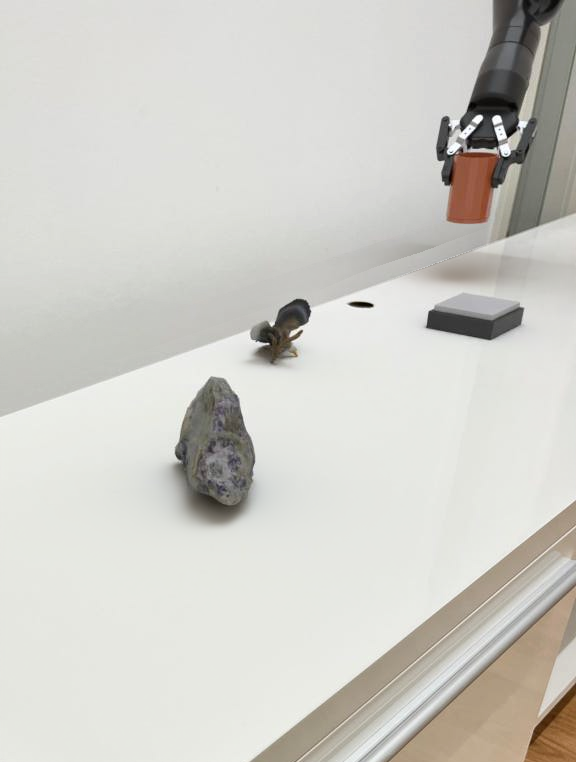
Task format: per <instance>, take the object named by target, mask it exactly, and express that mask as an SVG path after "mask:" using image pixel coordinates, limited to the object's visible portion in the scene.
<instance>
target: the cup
mask: <svg viewBox="0 0 576 762" xmlns="http://www.w3.org/2000/svg"><path fill="white" fill-rule="evenodd" d="M499 158H500V157H499V154H498V153H497V152H496V153H495V152H489V151H487V152H486V151H469V152H464V153H458V154H455V156H454V163H453V170H452V177H451V184H450V186H449V191H448V192H449V193H448V200H447V207H446V214H445V221H446V222H448V223H453V224H460V225H477V224H484V223H488V222H489V221H490V215H491V211H492V204H493V198H494V191H495V188H492V179H493V175H494V172H495V169H496V166H497V162H498V159H499Z"/></svg>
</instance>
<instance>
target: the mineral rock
mask: <svg viewBox="0 0 576 762" xmlns="http://www.w3.org/2000/svg"><path fill="white" fill-rule="evenodd" d="M240 402H241V401H240V397H239V396H238V394H236V392H235V391H234V390H233V389H232V388H231V386H230V384H229V382H228V380H227V379H226V378H224V377H219V376H212V375H211V376H210V377H209V378H208V379H207V381H205V383H204V384H203V386H201V387H200V389H199V390H198V391H197V392H196V395H195V397H194V398H193V399H192V400H191V402H190V404H189V406H188V407H187V408H186V411H185V414H184V417H183V420H182V423H181V427H180V431H179V438H178V442H177V444H176V445H175V446H174V456H175V458H176V459H177V460H178V461H180V462H181V463H182V465H183V470H184V472H186V483H187V486H188V488H190V489H191V490H192V491H194V492H196V493H199V494H204V495H207V496H209V497H212V498H213V499H215V500H216V501H217V502H219V503H221V504H223V505H226V506H235V505H237V504H239V503H240V502H242V500H244V499H246V498H247V497H248V493H249V490H250V487H251V485H252V484H253V483H254V479H253V477H254V475H255V474H254V467H255V465H256V452H255V447H254V443H253V440H252V437H251V435H250V434H249V432H248V430H247V427H246V425H245V421H244V416H243V413H242V409H241V403H240Z"/></svg>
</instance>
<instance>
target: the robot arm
mask: <svg viewBox="0 0 576 762" xmlns="http://www.w3.org/2000/svg"><path fill="white" fill-rule="evenodd" d="M566 1H567V0H492V1H491V2H492V3H491V13H492V14H491V15H492V16H491V17H492V18H491V19H492V20H491V30H492V31H491V37H490V40H489V43H488V44H489V45H488V46H487V50H486V53H485V56H484V58H483V61H482V62H481V65H480V67H479V69H478V73H477V76H476V80H475V81H474V82H475V83H474V86H473V89H472V92H471V94H470V98H469V103H468V104H467V107H466V111H465V113H464V114H463V115H462V116H461V117H460V119H450V116H448V115H444V116H443V117H441V119H440V125H439V130H438V135H437V140H436V146H435V151H436V153H435V154H436V159H437V161H438V162H444V163H443V165H442V169H441V172H440V174H441V181H442V183H443V184H444V187H450V184H451V177H452V170H453V163H454V156H455V154H458V153H464V152H471V150H481V149H485V150H491V151H492V150H493V151H494V150H495V149H496V154H499V159H498V162H497V166H496V169H495V172H494V175H493V179H492V188H494V189H499V186H500V185H503V184H504V183H505V180H506V178H507V174H508V172H509V168H510V166H511V165H514V164H517V165H523V164H524V163H525V161H526V159H527V156H528V154H529V152H530V150H531V147H532V145H533V143H534V140H535V138H536V135H537V134H538V119H537V118H536V117H531V118H529V119H528V121H525V120H520V118H519V117H520V114H521V110H522V106H523V103H524V101H525V97H526V94H527V91H528V89H529V86H530V81H531V78H532V72H533V65H534V63H535V58H536V55H537V53H538V49H539V45H540V42H541V38H542V28H541V27H544V26H546V25H547V24H549V23H551V22H553V20H554V19H555V18H556V17H557V16H558V15H559V12H560V11H561V10H562V8H563V7H564V5H565V2H566ZM457 130H459V131H460V134H459V135H458V136H457V137H456V139H455V141H454V142H453V143H452V144H451V146H450V147H448V145H449V142H450V141H449V140H450V138H452V137H453V136H454V135H455V133H456V132H457ZM517 132H519V137H520V139H519V142H518V144H517V146H516V148H515V149H512V150H511V148H510V145H509V142H508V141H509V139H510V138H511V137H512V136H513V135H515V134H517Z"/></svg>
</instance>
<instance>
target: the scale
mask: <svg viewBox="0 0 576 762" xmlns="http://www.w3.org/2000/svg"><path fill="white" fill-rule="evenodd" d="M520 305H521V301H517V300H511V299H505V298H499V297H493V296H487V295H480V294H475V293H468V292H461V293H459V294H457V295H454V296H451V297H450V298H447V299H445V300H443V301H441V302H438V303H436V304H434V307H433V308H432V309H430V310H428V313H427V318H426V325H425V328H427V329H433V330H437V329H438V330H437V331H443V330H444V331H443V332H448V331H449V333H453V332H454V333H455V334H459V335H464V334H465V335H464V336H469V335H471V336H470V337H474V336H476V337H475V338H480V337H481V339H486V340H490V339H491V340H493V339H494V338H495V339H496V337H497V338H498V336H501V335H502V334H505V333H506V332H508V331H510V330H513V329H514V328H517V327H518V326H520V325H522V322H523V318H524V311H525V307H523V306H520ZM460 333H461V334H460Z"/></svg>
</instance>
